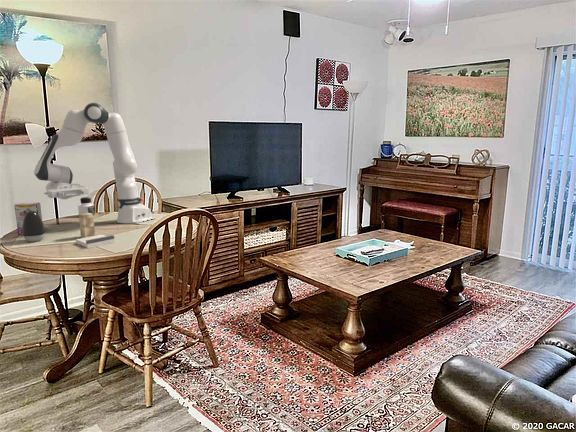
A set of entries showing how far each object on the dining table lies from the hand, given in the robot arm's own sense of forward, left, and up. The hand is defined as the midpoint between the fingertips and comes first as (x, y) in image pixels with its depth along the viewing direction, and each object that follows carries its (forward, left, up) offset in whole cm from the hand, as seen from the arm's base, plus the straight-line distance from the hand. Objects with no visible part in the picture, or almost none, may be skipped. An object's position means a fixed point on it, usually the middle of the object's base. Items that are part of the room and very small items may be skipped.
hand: (73, 193), depth 227 cm
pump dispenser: (+21, -1, -22) cm, 30 cm away
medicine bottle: (-23, -42, -22) cm, 52 cm away
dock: (+3, +27, -21) cm, 35 cm away
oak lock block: (0, +12, -21) cm, 25 cm away
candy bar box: (+17, -19, -22) cm, 33 cm away
